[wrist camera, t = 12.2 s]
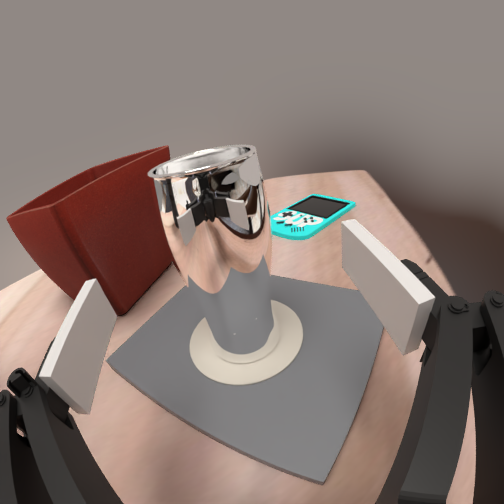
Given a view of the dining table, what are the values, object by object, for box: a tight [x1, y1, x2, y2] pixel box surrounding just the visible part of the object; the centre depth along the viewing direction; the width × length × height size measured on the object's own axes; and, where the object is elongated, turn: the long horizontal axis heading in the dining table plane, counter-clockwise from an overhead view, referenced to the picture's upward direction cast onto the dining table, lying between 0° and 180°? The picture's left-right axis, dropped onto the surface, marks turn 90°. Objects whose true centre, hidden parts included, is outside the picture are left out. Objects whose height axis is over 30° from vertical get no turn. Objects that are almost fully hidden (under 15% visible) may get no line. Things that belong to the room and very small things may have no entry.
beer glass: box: [147, 145, 281, 363], centre depth 19 cm, size 7×7×15 cm
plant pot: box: [7, 146, 172, 315], centre depth 33 cm, size 19×19×17 cm
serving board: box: [106, 275, 384, 485], centre depth 23 cm, size 22×18×2 cm
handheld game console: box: [270, 194, 355, 240], centre depth 45 cm, size 10×16×1 cm, turn 131°
